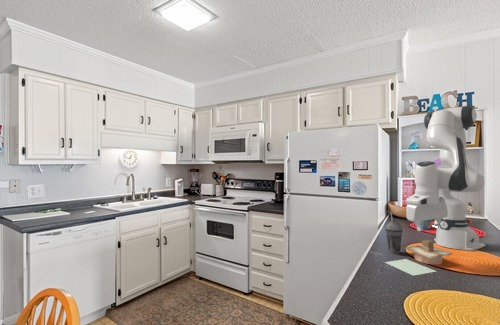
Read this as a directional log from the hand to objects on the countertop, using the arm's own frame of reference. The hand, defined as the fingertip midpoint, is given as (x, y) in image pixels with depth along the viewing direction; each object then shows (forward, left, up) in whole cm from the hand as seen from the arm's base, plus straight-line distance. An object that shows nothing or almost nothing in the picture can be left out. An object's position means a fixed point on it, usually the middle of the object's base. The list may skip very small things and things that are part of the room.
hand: (428, 229), depth 114 cm
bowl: (+1, 0, -14) cm, 14 cm away
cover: (+1, 0, -10) cm, 10 cm away
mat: (+15, +3, -14) cm, 21 cm away
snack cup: (-49, -43, -14) cm, 67 cm away
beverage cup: (+7, -12, -14) cm, 20 cm away
